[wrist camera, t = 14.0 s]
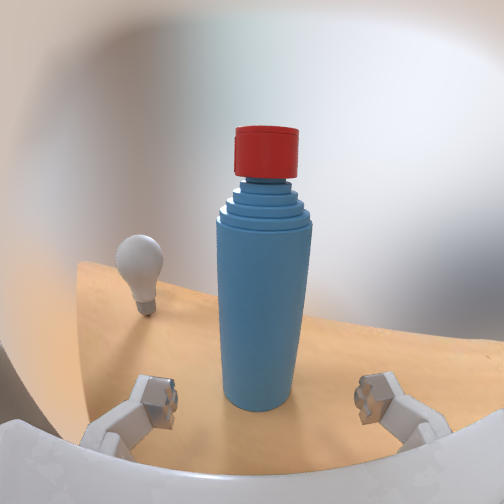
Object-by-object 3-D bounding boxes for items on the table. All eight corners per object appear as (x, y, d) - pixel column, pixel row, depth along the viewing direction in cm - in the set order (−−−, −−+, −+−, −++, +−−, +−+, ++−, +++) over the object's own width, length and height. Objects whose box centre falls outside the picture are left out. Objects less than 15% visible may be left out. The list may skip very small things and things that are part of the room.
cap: (238, 178, 15) (239, 124, 14) (230, 173, 19) (231, 129, 18) (306, 179, 16) (308, 128, 15) (286, 173, 20) (287, 132, 18)
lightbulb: (118, 320, 33) (102, 241, 29) (142, 299, 38) (132, 227, 34) (154, 331, 31) (141, 246, 27) (177, 307, 37) (170, 230, 33)
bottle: (227, 415, 21) (220, 131, 13) (220, 367, 26) (213, 137, 19) (299, 405, 22) (335, 138, 14) (280, 360, 28) (297, 140, 20)
